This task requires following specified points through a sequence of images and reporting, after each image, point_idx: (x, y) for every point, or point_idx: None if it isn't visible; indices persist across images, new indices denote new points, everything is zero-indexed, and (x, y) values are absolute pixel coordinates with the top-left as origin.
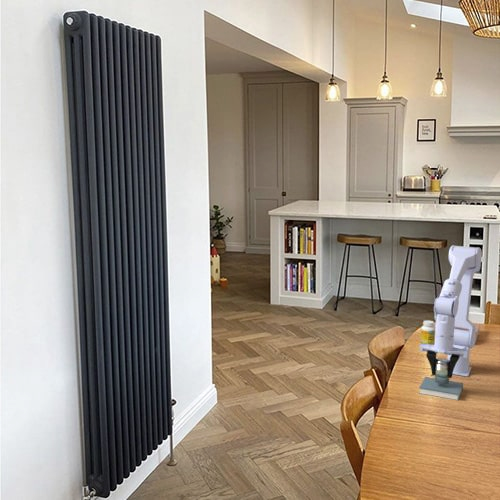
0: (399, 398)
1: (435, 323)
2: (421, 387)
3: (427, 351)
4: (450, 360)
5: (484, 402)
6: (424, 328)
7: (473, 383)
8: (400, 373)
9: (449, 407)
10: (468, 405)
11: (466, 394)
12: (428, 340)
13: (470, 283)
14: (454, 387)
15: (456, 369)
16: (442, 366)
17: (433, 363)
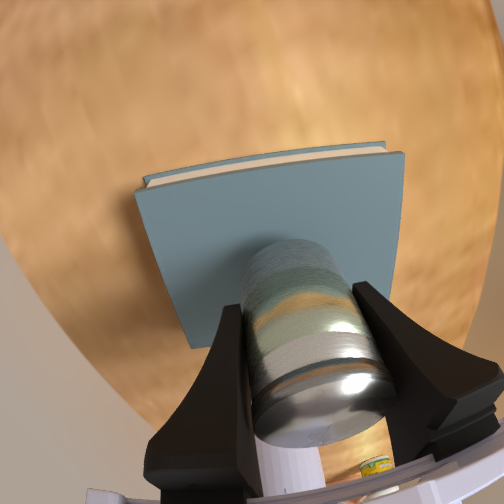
0: (449, 25)
1: (364, 498)
2: (392, 155)
3: (496, 425)
4: (227, 439)
5: (43, 240)
6: (393, 491)
7: (187, 385)
8: (461, 314)
9: (148, 37)
10: (72, 147)
11: (150, 281)
12: (376, 471)
13: None
14: (203, 277)
15: None
16: (310, 351)
17: (406, 347)
